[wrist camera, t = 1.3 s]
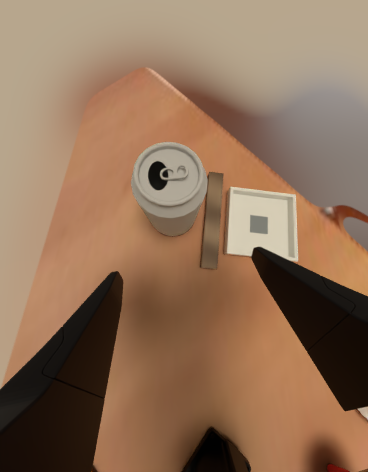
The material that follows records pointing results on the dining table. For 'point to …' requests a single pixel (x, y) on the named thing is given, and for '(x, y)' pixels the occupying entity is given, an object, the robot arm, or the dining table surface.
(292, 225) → the tray
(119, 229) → the dining table surface
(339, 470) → the strawberry
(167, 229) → the can
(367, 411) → the whipped cream
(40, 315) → the dining table surface
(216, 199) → the strip
